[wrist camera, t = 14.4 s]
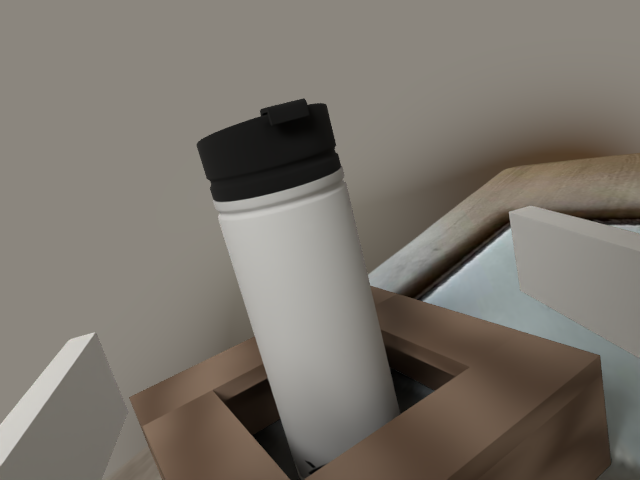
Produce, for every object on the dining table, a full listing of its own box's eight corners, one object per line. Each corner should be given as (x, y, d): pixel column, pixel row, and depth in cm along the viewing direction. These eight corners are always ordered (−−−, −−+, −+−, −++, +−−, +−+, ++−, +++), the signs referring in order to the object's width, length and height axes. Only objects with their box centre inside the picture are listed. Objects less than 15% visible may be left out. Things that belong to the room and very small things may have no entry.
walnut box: (379, 351, 38) (363, 283, 37) (611, 463, 23) (600, 355, 21) (161, 478, 30) (128, 397, 29) (295, 784, 15) (241, 645, 13)
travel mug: (338, 545, 22) (211, 120, 17) (285, 468, 28) (178, 133, 23) (440, 476, 25) (355, 85, 20) (371, 418, 31) (292, 104, 26)
